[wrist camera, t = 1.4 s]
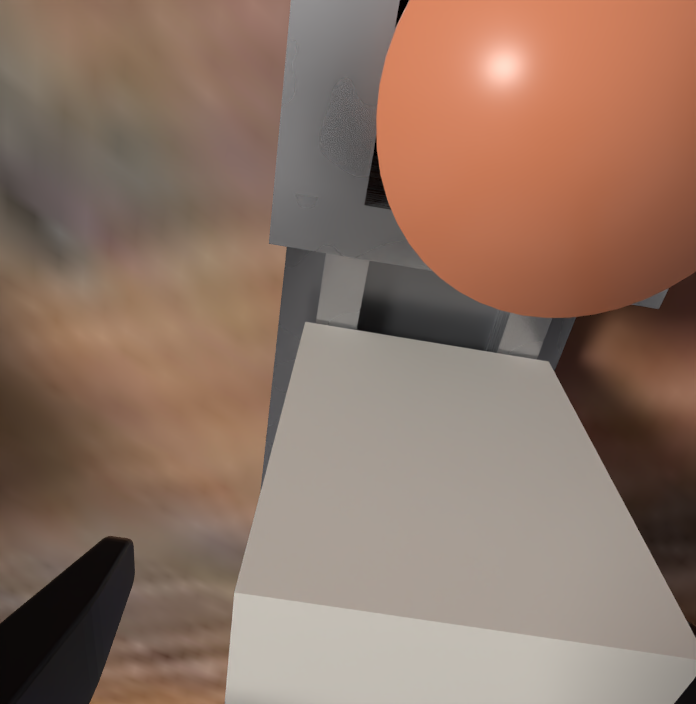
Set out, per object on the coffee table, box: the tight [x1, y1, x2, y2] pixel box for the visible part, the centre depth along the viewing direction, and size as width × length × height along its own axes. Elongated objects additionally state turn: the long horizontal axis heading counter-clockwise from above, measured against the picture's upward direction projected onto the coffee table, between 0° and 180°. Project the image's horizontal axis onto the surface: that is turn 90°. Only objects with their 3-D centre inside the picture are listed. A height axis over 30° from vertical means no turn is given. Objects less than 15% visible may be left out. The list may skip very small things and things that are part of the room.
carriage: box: [225, 322, 696, 704], centre depth 10 cm, size 6×5×6 cm
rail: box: [260, 0, 669, 493], centre depth 13 cm, size 24×6×4 cm, turn 171°
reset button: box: [376, 0, 696, 318], centre depth 7 cm, size 4×4×5 cm
